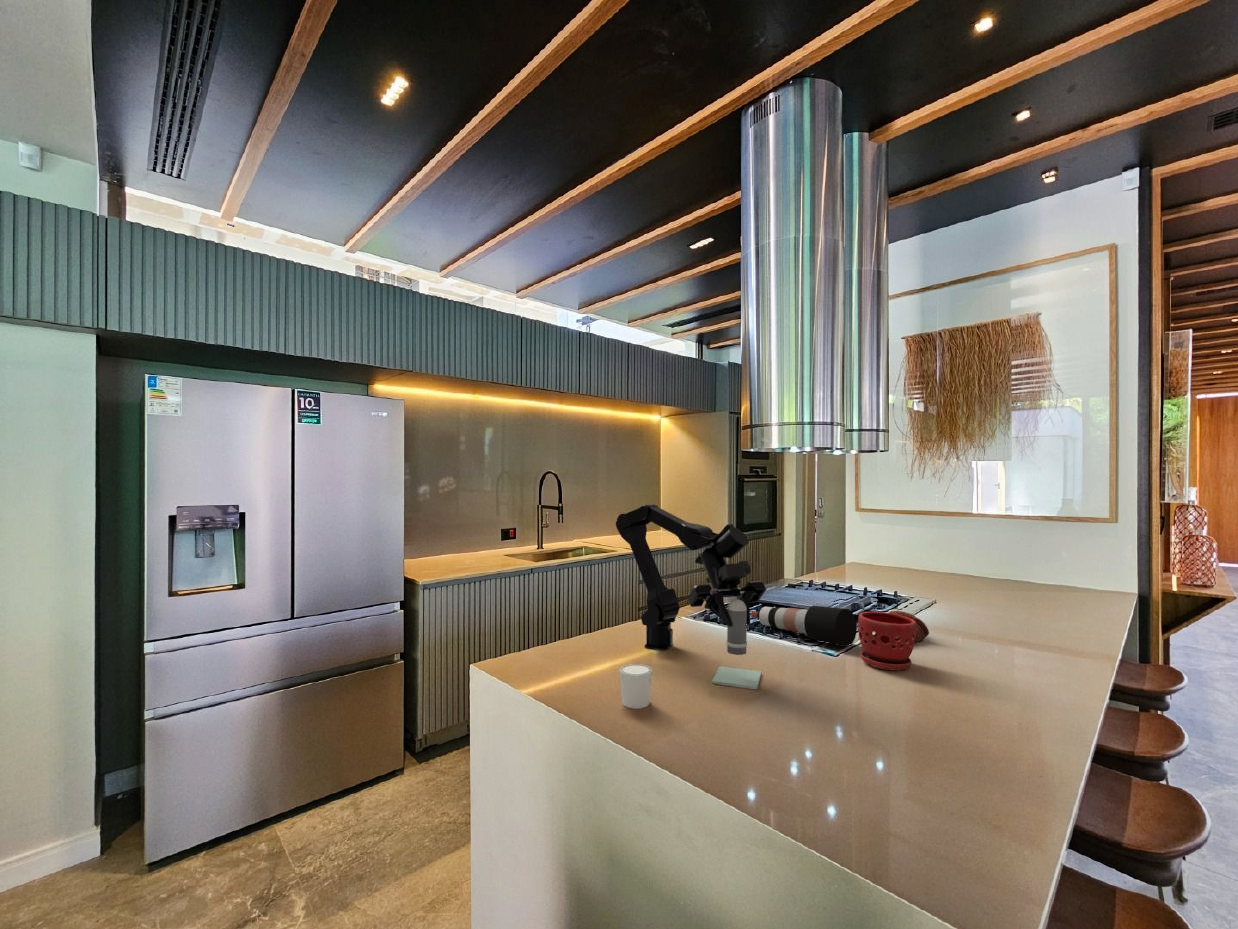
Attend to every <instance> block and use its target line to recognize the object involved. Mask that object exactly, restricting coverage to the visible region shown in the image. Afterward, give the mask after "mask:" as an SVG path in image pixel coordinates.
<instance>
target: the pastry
mask: <svg viewBox="0 0 1238 929" xmlns="http://www.w3.org/2000/svg"><path fill="white" fill-rule="evenodd" d="M887 613H891V614H897V615H901V616H905V617H908V618H911V619H913V620H914V621H915V622H916V636H915V642H914V644H918V643H923V642H924V640H925V639H926V637H928V636H929V635H930V632H929V628H928V626H927V625H926V623H925V622H924V621H923V620H922V619H920V618H918V617H917V616H915V615H913V614H911V613H909V612H905V611H901V610H892V611H888V612H887ZM894 624H896V623H894ZM895 638H897V639H898V638H900V637H899V636H896V637H895Z"/></svg>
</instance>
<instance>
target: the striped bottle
mask: <svg viewBox="0 0 1238 929" xmlns="http://www.w3.org/2000/svg"><path fill="white" fill-rule="evenodd" d="M852 611H853V610H850V609H849V608H843V607H842V608H841V607H831V606H823V605H812V606H810V607H809V608H808V609H803V608H796V607H795V608H794V607H787V608H786V607H776V606H775V607H772V606H771V607H770V606H763V607H762V608H761V609H760V611H754V610H753V611H751V612H750V618H754V619H759V622H760V623H761V625H762V626H764V625H765V626H764V627H769V626H771V627H770V628H774V627H775V629H779V630H782V629H785V630H784V631H787V632H789V631H792V632H791V633H796V632H799V633H798V634H802V633H803V634H804V635H806V636H807V637H808V638H809V639H810V638H811V639H815V640H819V641H825V642H829V643H833V644H832V645H835V644H838V645H837V646H841V645H843V646H842V647H846V646H845V645H849V644H851V645H852V644H853V643H854V641H855V639H856V636H857V633H858V632H857V631H858V627H857V626H858V625H857V624H858V622H857V618H856V617H855V614H854V613H853V612H852ZM811 639H810V640H811ZM829 643H828V644H829ZM849 646H850V645H849Z"/></svg>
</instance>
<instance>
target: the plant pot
mask: <svg viewBox="0 0 1238 929" xmlns="http://www.w3.org/2000/svg"><path fill="white" fill-rule="evenodd" d="M857 619H858V620H857V624H858V625H857V626H858V627H857V631H858V638H859V642H860V645H861V648H862V649H863V650H862V651H861V652H860V654H859V656H860V659H862V661H863V662H864V663H866V664H867V665H869V666H873V667H872V668H878V669H882V670H887V671H901V670H906V669H908V668H909V667H910V666H911V665H912V659H911V658H910V656H911V655H912V653H913V651H914V647H915V643H914V642H915V636H916V622H915V621H914V620H913V619H911V618H908V617H905V616H901V615H897V614H891V613H888V612H882V611H864V612H860V613H859V614H858V618H857ZM894 623H896V624H894ZM873 632H874V634H873ZM896 636H899V637H900V638H898V639H897V638H895V637H896Z"/></svg>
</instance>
